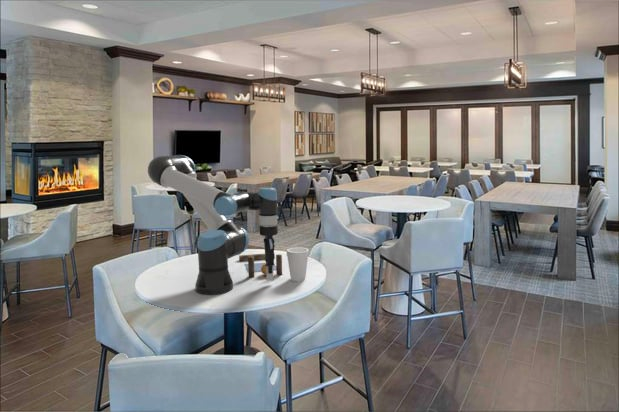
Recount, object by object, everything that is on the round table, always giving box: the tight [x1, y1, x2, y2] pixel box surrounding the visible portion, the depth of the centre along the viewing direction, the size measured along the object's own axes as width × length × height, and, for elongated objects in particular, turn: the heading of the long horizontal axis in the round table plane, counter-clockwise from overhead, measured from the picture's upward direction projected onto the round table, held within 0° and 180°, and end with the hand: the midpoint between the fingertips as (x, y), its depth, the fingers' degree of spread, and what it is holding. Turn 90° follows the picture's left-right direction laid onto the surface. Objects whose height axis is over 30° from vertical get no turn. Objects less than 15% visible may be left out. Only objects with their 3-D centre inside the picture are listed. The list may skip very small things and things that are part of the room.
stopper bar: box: [238, 253, 276, 262], centre depth 229 cm, size 18×2×2 cm, turn 104°
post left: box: [247, 256, 255, 279], centre depth 199 cm, size 3×3×9 cm
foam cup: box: [286, 247, 309, 282], centre depth 195 cm, size 10×9×13 cm
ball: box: [260, 262, 266, 276], centre depth 202 cm, size 6×6×6 cm
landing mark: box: [244, 262, 276, 273], centre depth 215 cm, size 14×14×1 cm
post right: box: [275, 253, 283, 276], centre depth 202 cm, size 3×3×9 cm
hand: (270, 280), depth 189 cm, fingers closed
